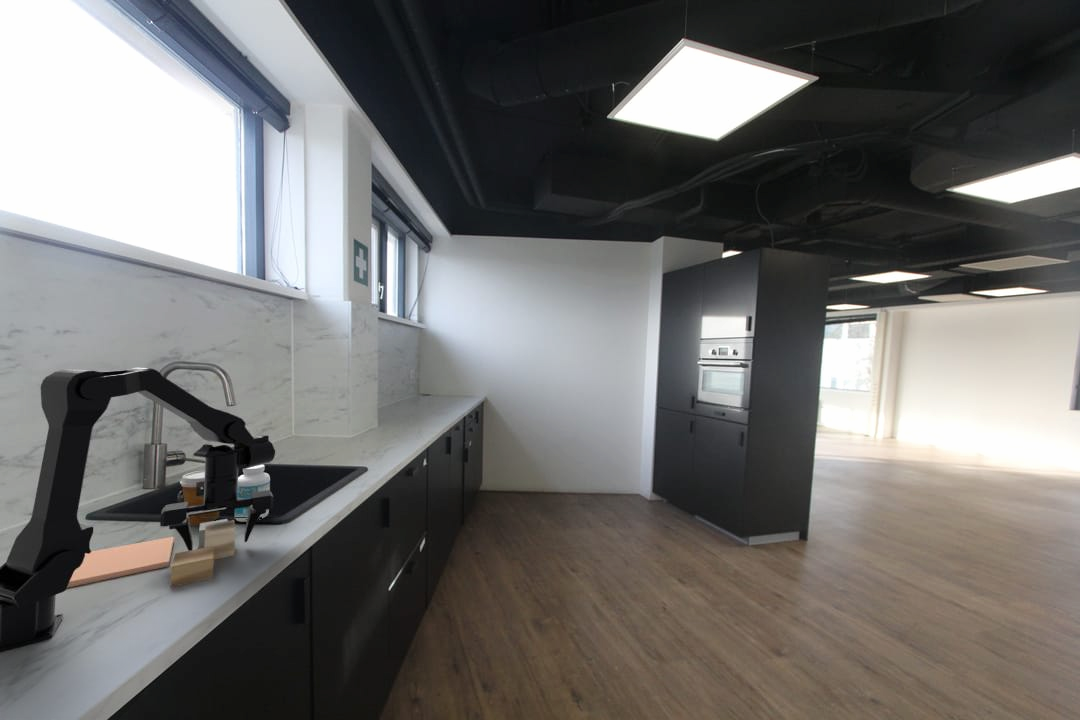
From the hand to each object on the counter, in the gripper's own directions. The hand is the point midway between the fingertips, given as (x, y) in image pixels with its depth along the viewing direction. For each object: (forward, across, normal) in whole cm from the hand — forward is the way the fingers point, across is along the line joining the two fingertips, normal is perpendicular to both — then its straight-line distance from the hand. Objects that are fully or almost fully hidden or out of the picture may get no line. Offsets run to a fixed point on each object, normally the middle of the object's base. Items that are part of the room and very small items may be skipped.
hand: (219, 546), depth 88 cm
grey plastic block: (+2, +1, -8) cm, 8 cm away
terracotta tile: (+2, +15, -6) cm, 16 cm away
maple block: (+2, 0, 0) cm, 2 cm away
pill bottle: (+2, -7, -20) cm, 21 cm away
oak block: (+2, +4, +8) cm, 9 cm away
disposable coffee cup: (+2, +3, -24) cm, 24 cm away
